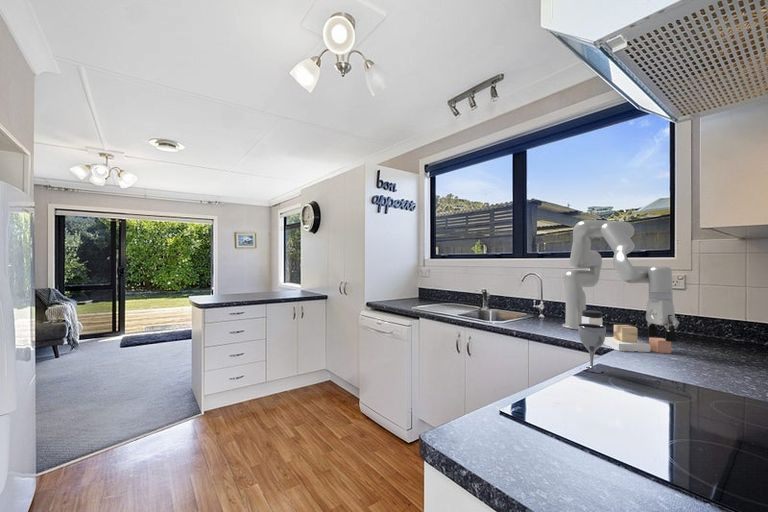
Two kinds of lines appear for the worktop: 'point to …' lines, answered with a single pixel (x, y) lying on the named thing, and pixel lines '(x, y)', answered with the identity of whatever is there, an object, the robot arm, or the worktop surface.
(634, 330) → the maple cube
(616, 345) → the plinth
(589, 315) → the jar
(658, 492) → the worktop surface
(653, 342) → the terracotta cube
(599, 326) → the wine glass
